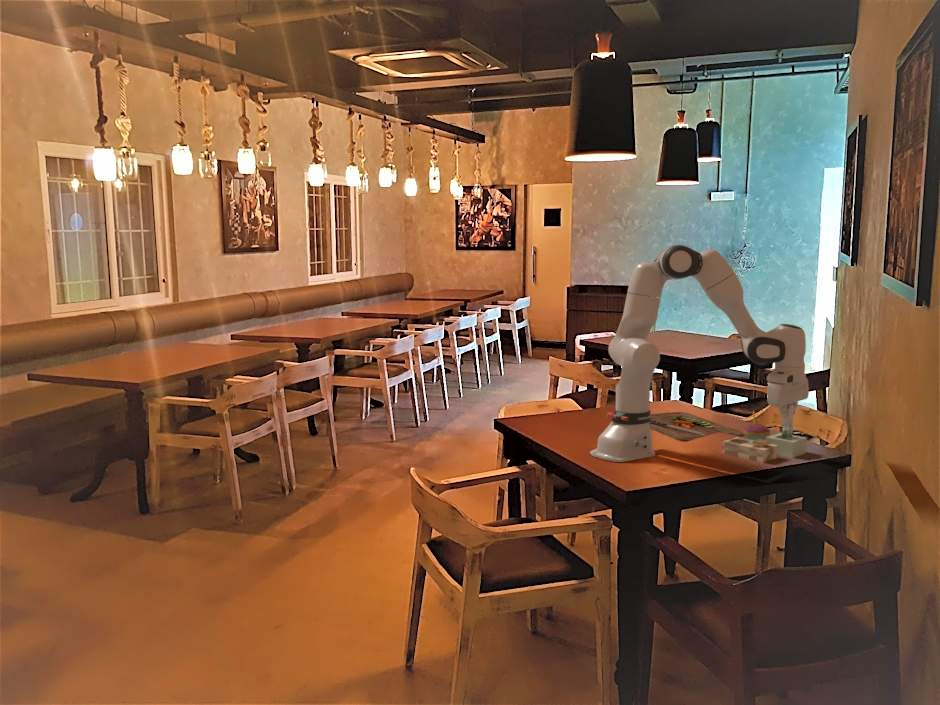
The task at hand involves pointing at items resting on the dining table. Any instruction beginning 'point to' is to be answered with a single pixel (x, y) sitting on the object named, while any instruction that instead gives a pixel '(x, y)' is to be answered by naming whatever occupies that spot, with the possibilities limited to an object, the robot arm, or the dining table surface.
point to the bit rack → (789, 445)
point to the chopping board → (687, 426)
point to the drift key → (760, 443)
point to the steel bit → (788, 422)
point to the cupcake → (756, 430)
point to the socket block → (749, 450)
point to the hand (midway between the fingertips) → (787, 416)
